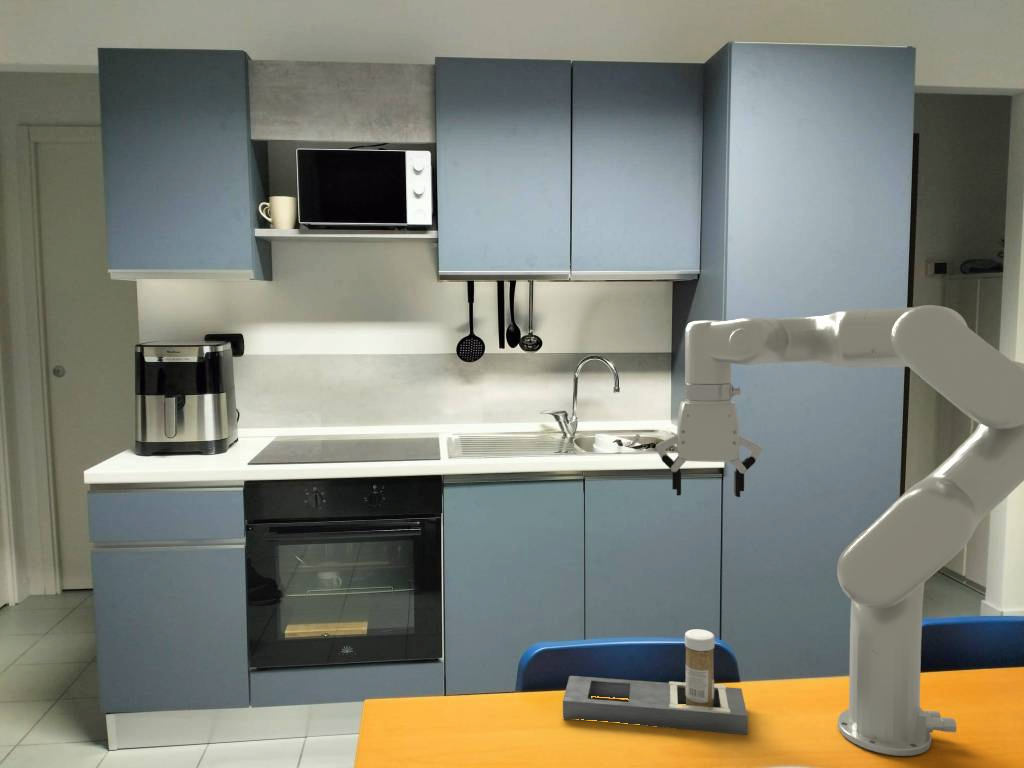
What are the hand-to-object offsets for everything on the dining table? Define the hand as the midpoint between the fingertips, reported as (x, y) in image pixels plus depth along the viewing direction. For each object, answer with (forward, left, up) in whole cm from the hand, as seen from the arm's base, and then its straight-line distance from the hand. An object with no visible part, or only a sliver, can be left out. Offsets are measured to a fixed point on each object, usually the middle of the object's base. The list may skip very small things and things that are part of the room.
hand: (707, 494), depth 129 cm
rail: (+9, +11, -33) cm, 36 cm away
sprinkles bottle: (+2, +11, -34) cm, 35 cm away
